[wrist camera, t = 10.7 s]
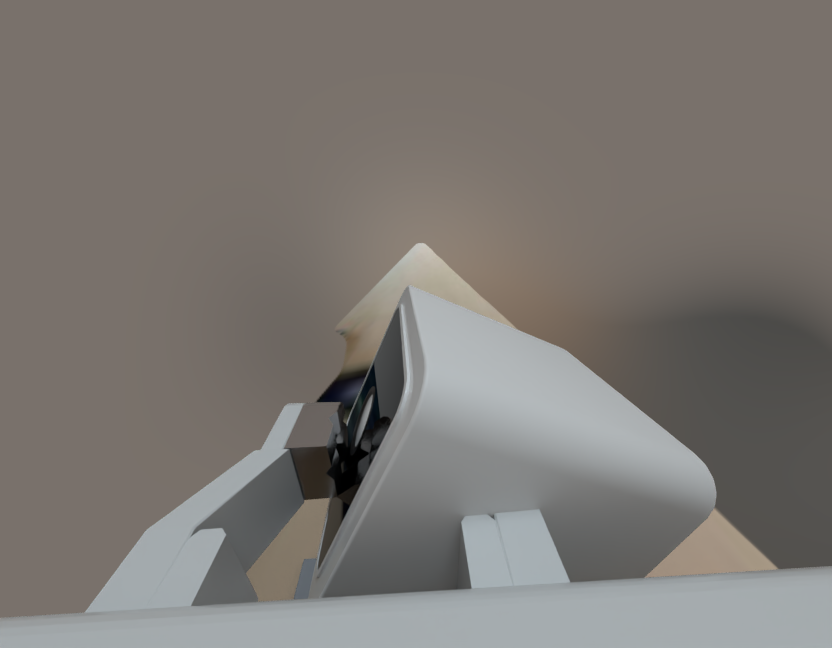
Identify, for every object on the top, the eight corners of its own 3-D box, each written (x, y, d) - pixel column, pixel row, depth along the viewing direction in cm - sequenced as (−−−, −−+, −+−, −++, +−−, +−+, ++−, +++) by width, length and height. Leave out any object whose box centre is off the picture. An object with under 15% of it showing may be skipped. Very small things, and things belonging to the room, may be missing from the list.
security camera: (316, 487, 13) (406, 279, 10) (457, 520, 14) (573, 348, 11) (252, 722, 7) (428, 382, 4) (503, 736, 8) (771, 500, 5)
